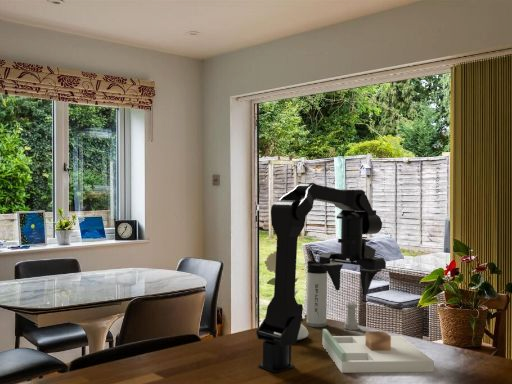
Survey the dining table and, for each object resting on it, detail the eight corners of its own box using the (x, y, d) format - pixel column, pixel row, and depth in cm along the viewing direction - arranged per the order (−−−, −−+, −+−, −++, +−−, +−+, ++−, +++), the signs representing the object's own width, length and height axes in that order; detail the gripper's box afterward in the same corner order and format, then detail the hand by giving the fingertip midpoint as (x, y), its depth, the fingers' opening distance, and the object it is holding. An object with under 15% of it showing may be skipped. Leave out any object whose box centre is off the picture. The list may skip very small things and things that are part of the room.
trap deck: (341, 372, 128) (341, 353, 128) (322, 345, 151) (322, 328, 151) (433, 371, 129) (434, 352, 129) (400, 344, 152) (401, 328, 152)
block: (370, 350, 137) (371, 336, 137) (365, 345, 142) (365, 331, 142) (390, 350, 138) (390, 336, 138) (384, 344, 143) (384, 331, 143)
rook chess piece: (348, 326, 173) (348, 300, 173) (361, 328, 171) (361, 302, 171) (341, 328, 170) (341, 302, 170) (353, 331, 167) (354, 304, 167)
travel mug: (314, 321, 179) (315, 260, 179) (330, 325, 174) (331, 262, 174) (301, 324, 174) (302, 261, 174) (317, 328, 170) (318, 263, 170)
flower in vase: (311, 335, 162) (312, 249, 162) (305, 345, 150) (307, 253, 151) (267, 331, 165) (268, 248, 165) (259, 341, 153) (260, 252, 154)
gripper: (397, 236, 149) (397, 294, 149) (343, 232, 162) (342, 285, 162) (373, 238, 141) (372, 299, 141) (318, 233, 155) (317, 289, 155)
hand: (350, 292), depth 150 cm, fingers open, 9 cm apart
